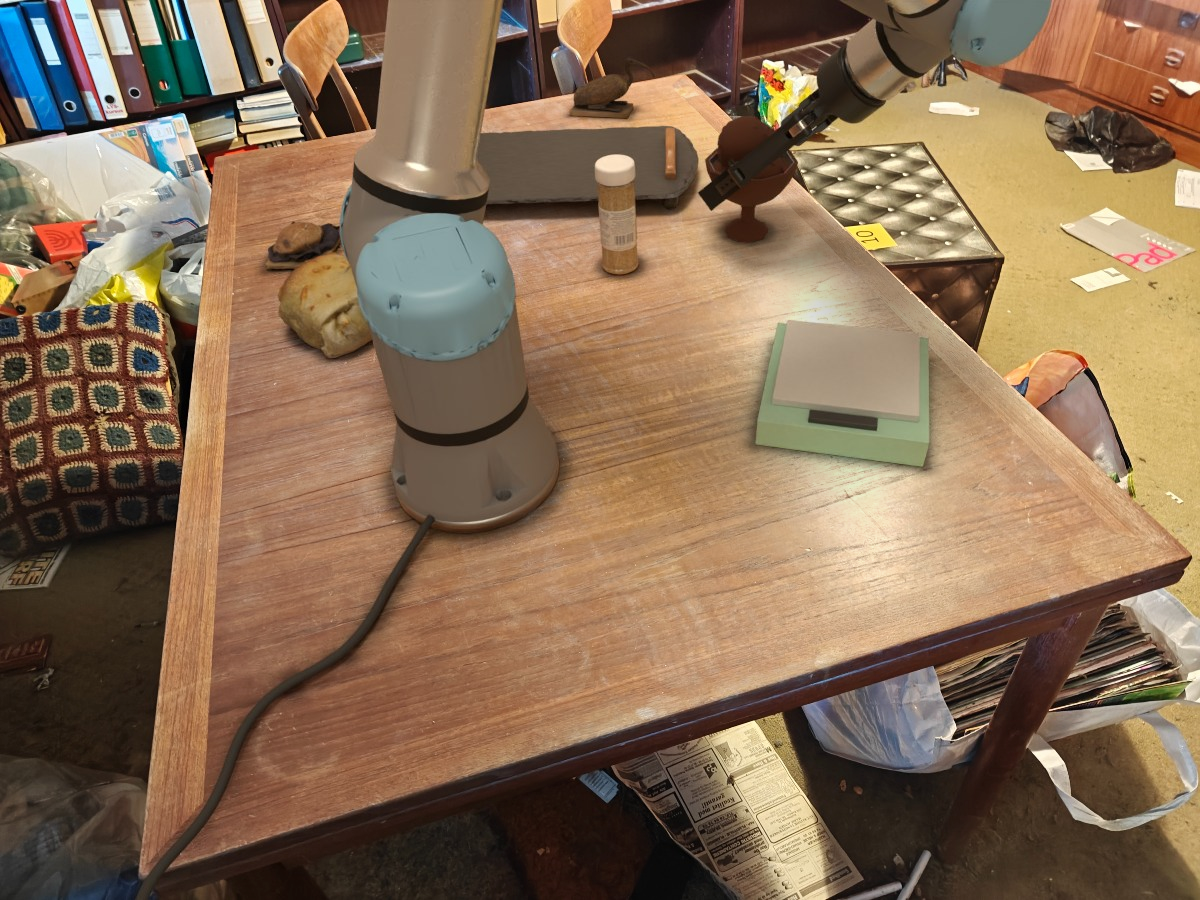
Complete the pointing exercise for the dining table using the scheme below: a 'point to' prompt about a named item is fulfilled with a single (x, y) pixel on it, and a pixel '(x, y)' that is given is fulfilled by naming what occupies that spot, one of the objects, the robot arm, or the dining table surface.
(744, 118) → the ice cream bowl
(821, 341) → the kitchen scale
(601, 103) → the figurine
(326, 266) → the pastry
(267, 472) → the dining table surface
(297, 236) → the open sandwich
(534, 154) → the serving tray
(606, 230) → the sprinkles bottle
